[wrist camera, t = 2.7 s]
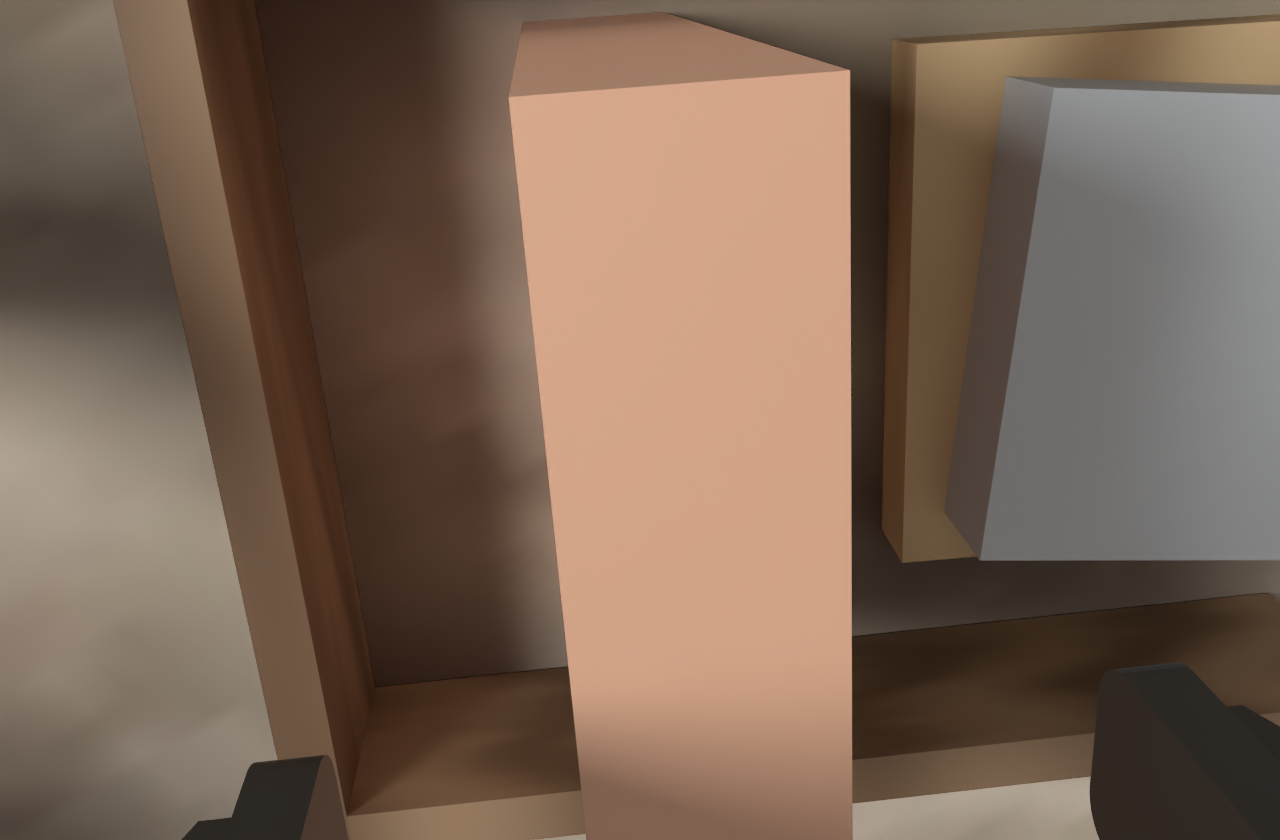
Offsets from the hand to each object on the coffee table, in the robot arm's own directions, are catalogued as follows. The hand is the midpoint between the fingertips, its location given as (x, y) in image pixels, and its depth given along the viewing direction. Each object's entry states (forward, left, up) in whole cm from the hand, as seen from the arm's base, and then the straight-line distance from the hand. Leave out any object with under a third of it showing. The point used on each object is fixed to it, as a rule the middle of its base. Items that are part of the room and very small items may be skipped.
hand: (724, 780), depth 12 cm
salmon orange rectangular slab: (0, 0, -17) cm, 17 cm away
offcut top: (-11, 0, -15) cm, 19 cm away
